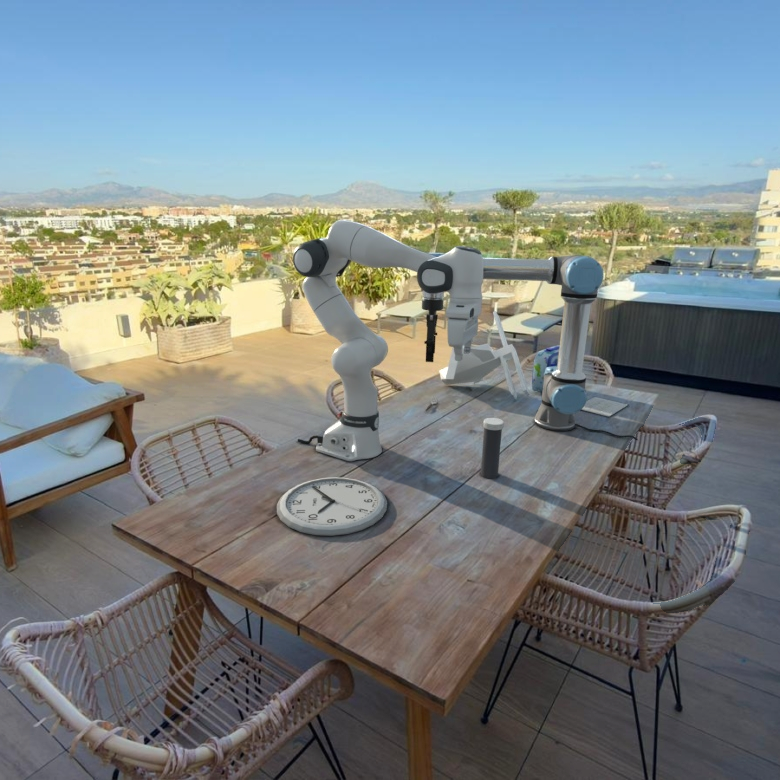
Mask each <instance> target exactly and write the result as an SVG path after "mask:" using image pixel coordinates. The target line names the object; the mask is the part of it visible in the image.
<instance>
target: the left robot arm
mask: <svg viewBox="0 0 780 780" xmlns="http://www.w3.org/2000/svg"><path fill="white" fill-rule="evenodd" d="M429 253H430V252H426V251H423V250H420V249H418V248H415V247H412V246H410V245H407V244H405V243H403V242H400V241H398V240H396V239H394V238H393V237H390V236H389V235H387V234H385V233H384V232H382V231H379V230H376V229H375V228H373V227H370V226H368V225H365V224H362V223H359V222H357V221H352V220H347V219H346V220H345V219H338V220H336V221H335V222H333V224H331V225H330V227H329V229H328V231H327V235H326V237H319V238H314V239H311V240H307V241H304V242H302V243H300V244H299V245H298V246H296V247H295V248H294V250H293V253H292V264H293V266H294V269H295V270H296V272H297V273H298V274H299V275H301V276H302V277H305V278H304V279H303V280H302V285H301V287H302V290H303V293H304V296H305V298H306V301H307V302H308V305H309V306H310V308H311V310H312V311H313V313H314V316H316V318H317V319H318V321H319V323H320V324H321V326H322V327H323V329H324V331H325V332H326V333H327V334H328V335H329V336H331V337H333V338H335V339H336V340H337V341H339V342H340V343H341V344H340V345H339V346H338V347H337V348H336V349H334V351H333V352H332V355H331V357H330V361H331V362H330V363H331V366H332V369H333V370H334V372H335V373H336V375H338V376H339V378H340V380H341V384H342V387H343V404H344V405H343V407H344V408H343V409H342V410H340V411H339V413H337V417H336V418H339V420H337V421H336V422H335V423H333V424H332V425H330V426H329V427H328V428H326V430H322V431H321V432H320V433H319V434H316V435H312V436H310V437H309V439H308V440H304V439H300V438H298V439H297V442H298V443H301V444H306V445H307V444H308V445H309V444H311V443H312V441H313V440H314V439H317V441H316V442H317V444H316V447H315V452H318V453H322V454H324V455H328V456H331V457H334V458H337V459H340V460H343V461H347V462H353V461H357V460H367V459H372V458H376V457H377V456H379V455H380V454H381V453H382V452H383V449H382V445H381V441H380V433H379V427H380V412H379V410H378V409H379V407H378V406H379V405H378V404H379V401H378V400H379V398H378V397H379V394H378V393H379V391H378V388H377V386H376V385H375V384H374V382H373V378H372V369H373V368H375V367H377V366H379V365H380V364H382V363H383V361H385V359H386V358H387V356H388V354H389V346H388V343H387V341H386V340H385V338H384V337H383V336H382V335H379V334H377V333H375V332H374V331H373V330H372V329H371V328H370V327H369V326H368V325H367V324H366V323H364V321H362V319H361V318H360V317H359V316H358V315H357V314H356V312H355V310H354V309H353V308H352V306H351V304H350V303H349V301H348V300H347V298H346V296H345V295H344V293H343V291H342V290H341V288H339V286H338V284H337V280H336V279H337V278H339V277H342V275H343V274H344V272H345V270H346V269H347V268H348V267H349V266H350V264H351V263H352V262H353V263H355V264H357V265H360V266H363V267H367V268H373V269H382V268H383V269H385V268H401V269H405V270H410V271H412V272H416V280H417V281H416V282H417V285H418V286H419V288H420V290H421V289H422V290H423V291H425V292H426V293H430V294H439V293H444V294H445V293H448V294H449V300H448V307H447V308H446V310H445V317H446V319H447V325H446V327H447V328H446V329H447V330H446V331H447V333H446V334H447V335H446V336H447V344H448V346H449V347H450V348H453V347H454V353H455V360H456V361H461V360H462V356H463V354H462V348H463V345H464V349H463V350H464V351H463V353H464V354H469V353H470V351H471V347H472V345H473V339H474V337H476V336H477V335H478V331H479V316H481V315H482V307H483V306H482V305H483V293H482V286H483V283H484V279H483V258H484V257H483V253H482V252H481V251H480V250H479V249H478V248H474V247H471V246H465V245H457V246H454V247H453V248H452V249H451V250H450V251H448V252H446V253H444V255H442V256H439V257H438V256H434V255H431V254H429ZM423 291H422V292H423Z"/></svg>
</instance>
